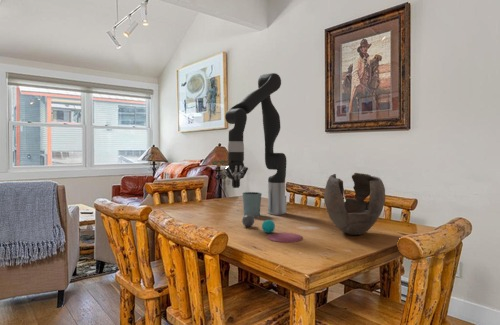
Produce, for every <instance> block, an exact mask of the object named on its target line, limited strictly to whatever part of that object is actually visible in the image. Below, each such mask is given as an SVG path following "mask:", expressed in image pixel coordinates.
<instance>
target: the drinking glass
mask: <svg viewBox="0 0 500 325" xmlns="http://www.w3.org/2000/svg"><path fill="white" fill-rule="evenodd" d="M262 194H263V193H262V192H259V191H258V192H257V191H245V192H242V206H243V217H244V216H245V215H251V216H253V218H257V217H260V216H261V203H262Z"/></svg>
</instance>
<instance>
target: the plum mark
mask: <svg viewBox="0 0 500 325" xmlns="http://www.w3.org/2000/svg"><path fill="white" fill-rule="evenodd" d="M267 239H268V240H270V241H272V242H278V243H296V242H300V241H302V240H303V236H302V235H300V234H296V233H292V232H291V233H290V232H276V233H269V234H268V235H267Z"/></svg>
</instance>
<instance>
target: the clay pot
mask: <svg viewBox="0 0 500 325" xmlns="http://www.w3.org/2000/svg"><path fill="white" fill-rule="evenodd" d="M351 179H352V182H353V185H354V186H353V190H354V198H352V197H347V198H346V199H345V197H344V191H345V189H344V181H343V180H342V179H341V178H337V174H336V173H334V174H332V175H331V174H330V175H329V177H328V179H327V181H326V184H325V187H324V198H323V200H324V204H325V208H326V212H327V215H328V216H329V219H330V221H331V222H332V223H333V224H334V225H335V227H337V228H338V229H339V230H340V231H341V232H343V233H345V234H347V235H351V236H353V235H354V236H359V235H363V234H366V233H367V232H369V230H370V229H371V228H372V227H373V226H374V225H375V223H377V222H378V221H377V220H378V219H379V217H380V216H381V214H382V212H383V210H384V209H383V208H384V207H385V202H386V188H385V185H384V183H383V180H382V179H381V178H380V177H378V176H375V175H374V176H373V175H371V174H368V173H367V174H366V173H362V172H361V173H358V172H354V173H353V174H352V175H351ZM367 198H368V202H367V201H365V200H366V199H367Z"/></svg>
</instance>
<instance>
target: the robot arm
mask: <svg viewBox="0 0 500 325" xmlns="http://www.w3.org/2000/svg"><path fill="white" fill-rule="evenodd" d="M281 85H282V79H281V77H280V75H279V73H275V72H273V73H272V72H271V73H264V74H261V75H259V76H258V80H257V86H258V87H257V89H255V90H253V91H252V92H250V93H249V94H246V96H245V97H244V98H242V100H241V101H239V102H238V103H236V104H235V105H233V106H231V107H230V108H229V109H228V110H227V111H226V113H225V116H224V117H225V121H226V122H227V123H228V124H229V125H233V127H232V128H231V129H230V130H228V145H227V161H228V164H227V166H226V167H223V171H224V173H225V174H226V177H227V178H228V180H229V179H230V180H231V187H232V188H233V189H239V188H240V185H241V180H242V179H244V177H245V176H246V174H247V172H248V170H249V168H248V167H247V166H245V163H244V161H245V145H244V131H245V128H246V125H247V120H248V117H247V116H248V114H251V112H252V111H253V110H255V108H256V107H258V106H259V105H261V114H262V126H263V127H262V128H263V135H264V136H263V137H264V163H265V167H266V168H267V169H268V170H274V171H276V173H274V174H273V175H271V176H268V178H267V180H268V181H267V182H268V184H267V186H268V187H267V189H268V190H267V198H268V199H267V210H268V211H267V214H268V215H278V216H279V215H284V214H287V195H286V177H287V156H286V154H285V153H283V152H274V147H275V145H274V144H275V142H276V140H277V138H278V135H279V133H280V131H281V117H280V114H279V112H278V111H277V109H276V107H275V105H274V104H273V102H272V99H271V95H272V94H273V93H275V92H276V91H278V90H280V88H281Z"/></svg>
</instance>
